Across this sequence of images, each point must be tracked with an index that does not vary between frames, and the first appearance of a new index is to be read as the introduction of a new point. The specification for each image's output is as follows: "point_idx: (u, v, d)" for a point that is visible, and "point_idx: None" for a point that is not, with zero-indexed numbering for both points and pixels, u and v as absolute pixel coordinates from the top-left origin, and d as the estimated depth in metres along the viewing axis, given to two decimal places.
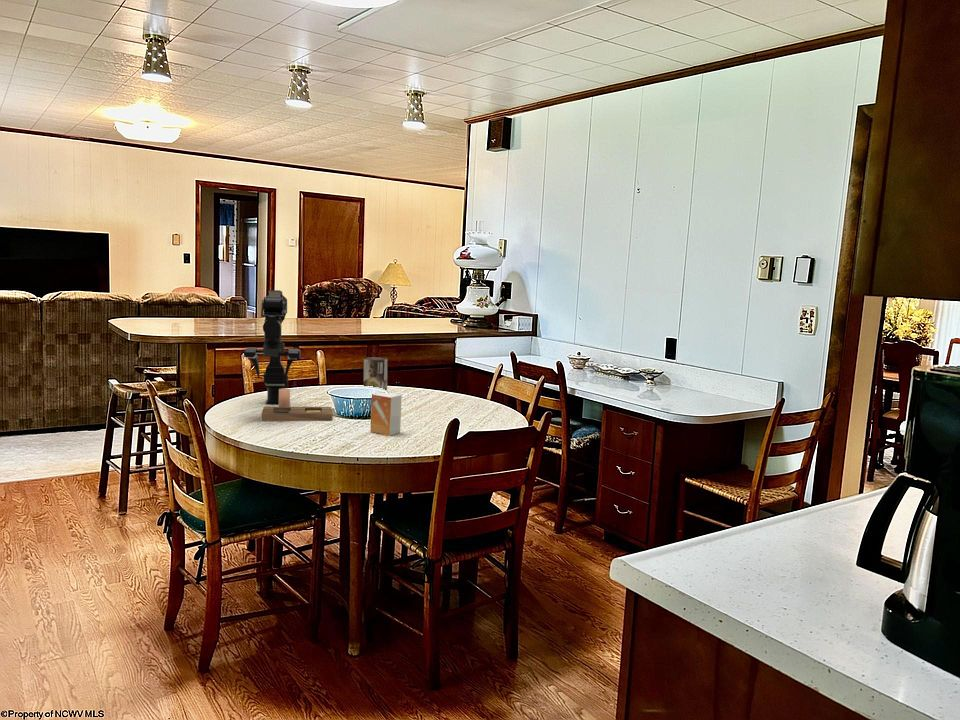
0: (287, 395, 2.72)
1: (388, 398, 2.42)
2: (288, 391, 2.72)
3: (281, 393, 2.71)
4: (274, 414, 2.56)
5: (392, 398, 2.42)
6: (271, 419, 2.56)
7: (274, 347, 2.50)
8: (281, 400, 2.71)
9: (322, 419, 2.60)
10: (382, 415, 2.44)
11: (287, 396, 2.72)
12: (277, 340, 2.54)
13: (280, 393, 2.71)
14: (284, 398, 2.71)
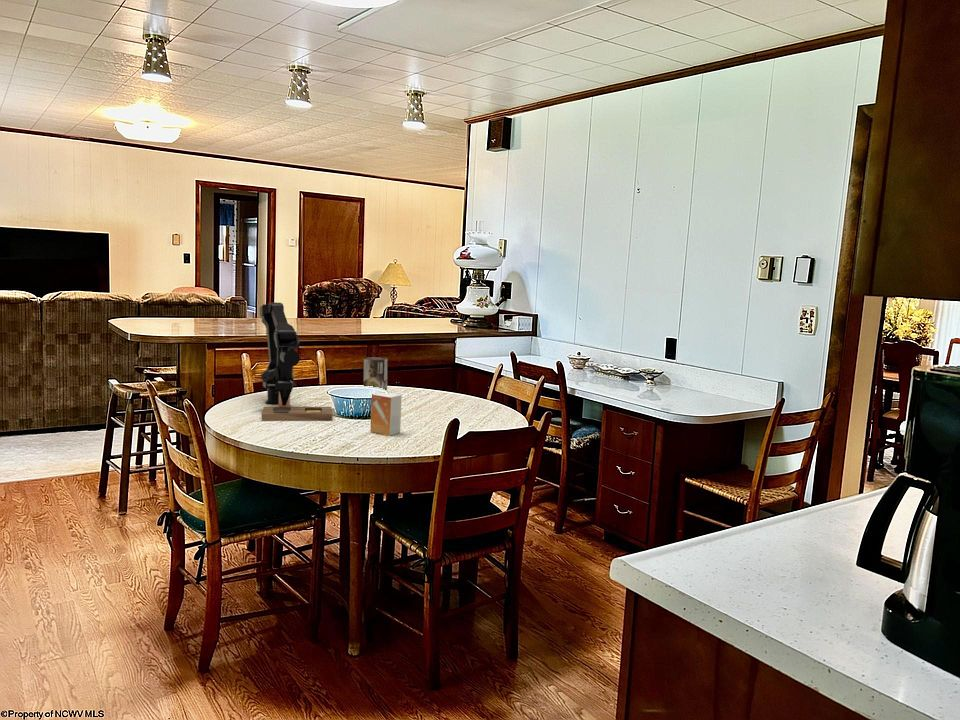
0: None
1: (388, 398, 2.42)
2: None
3: None
4: (274, 414, 2.56)
5: (392, 398, 2.42)
6: (271, 419, 2.56)
7: (263, 373, 2.69)
8: (281, 400, 2.71)
9: (322, 419, 2.60)
10: (382, 415, 2.44)
11: None
12: (275, 368, 2.69)
13: None
14: None
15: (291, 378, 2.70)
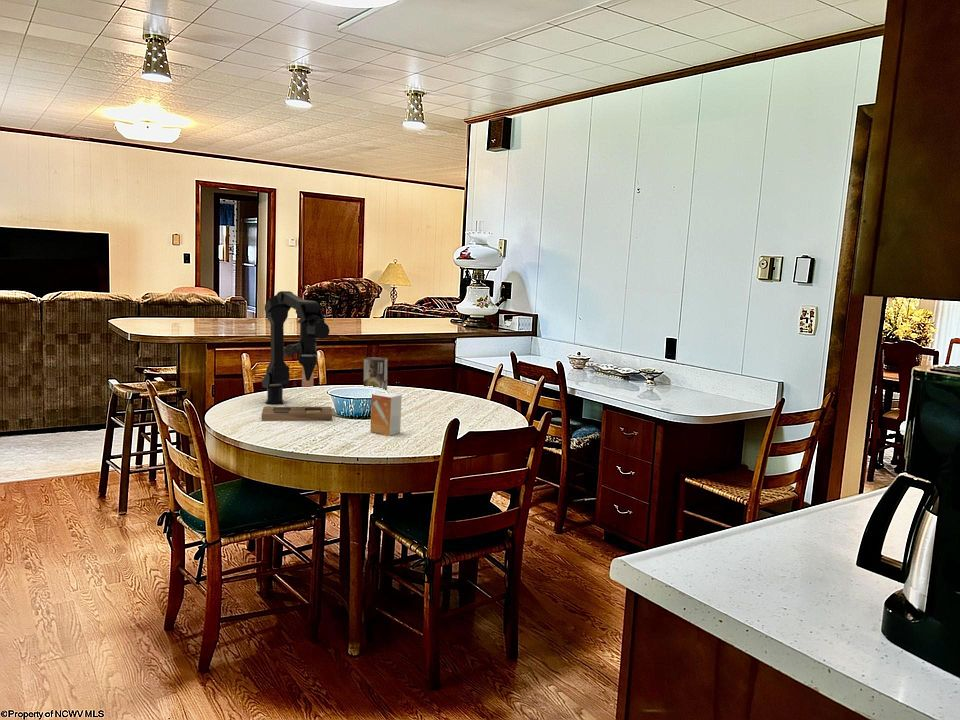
0: None
1: (388, 398, 2.42)
2: None
3: None
4: (274, 414, 2.56)
5: (392, 398, 2.42)
6: (271, 419, 2.56)
7: (286, 347, 2.62)
8: (304, 375, 2.64)
9: (322, 419, 2.60)
10: (382, 415, 2.44)
11: None
12: None
13: (303, 368, 2.64)
14: None
15: (315, 352, 2.63)
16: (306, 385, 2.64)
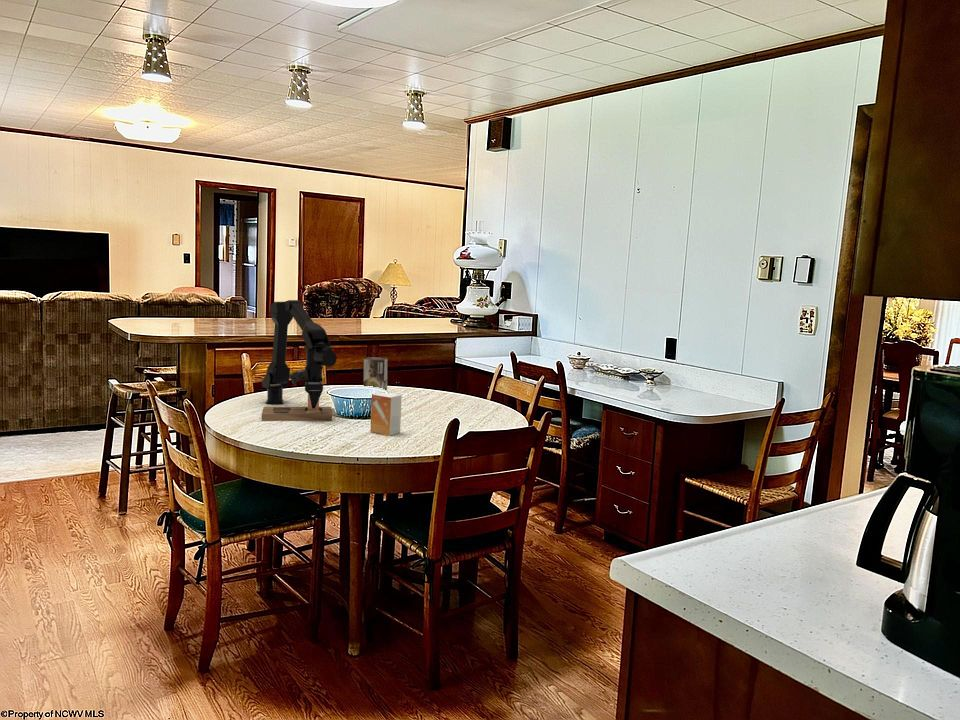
0: None
1: (388, 398, 2.42)
2: None
3: None
4: (274, 414, 2.56)
5: (392, 398, 2.42)
6: (271, 419, 2.56)
7: (292, 374, 2.62)
8: (310, 405, 2.64)
9: (322, 419, 2.60)
10: (382, 415, 2.44)
11: None
12: (305, 369, 2.62)
13: (309, 398, 2.64)
14: None
15: (321, 379, 2.63)
16: None
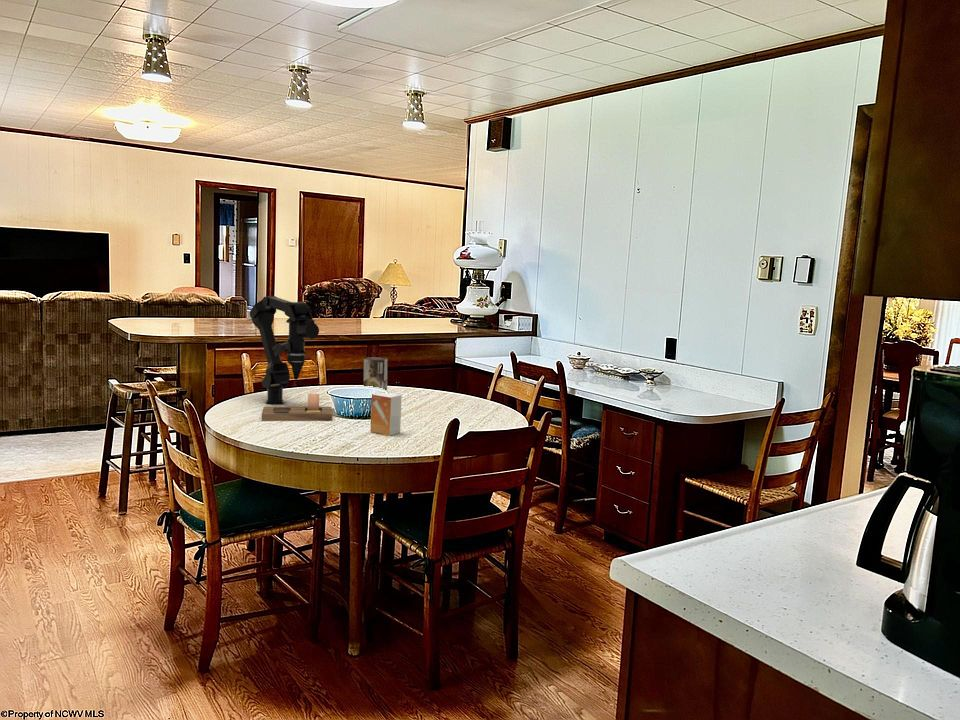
0: (316, 400, 2.64)
1: (388, 398, 2.42)
2: (317, 396, 2.65)
3: (311, 398, 2.64)
4: (274, 414, 2.56)
5: (392, 398, 2.42)
6: (271, 419, 2.56)
7: (275, 346, 2.72)
8: (310, 405, 2.64)
9: (322, 419, 2.60)
10: (382, 415, 2.44)
11: (316, 402, 2.64)
12: (287, 342, 2.72)
13: (309, 398, 2.64)
14: (313, 404, 2.64)
15: (303, 351, 2.73)
16: None
